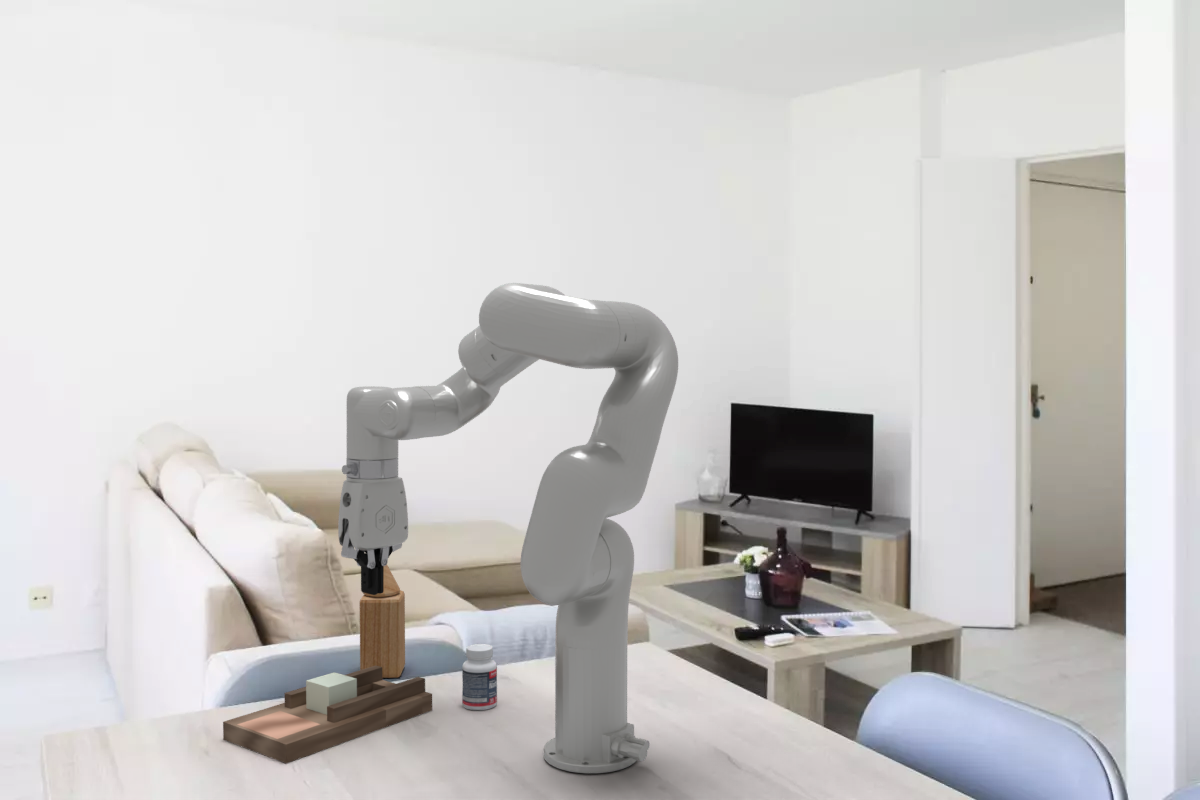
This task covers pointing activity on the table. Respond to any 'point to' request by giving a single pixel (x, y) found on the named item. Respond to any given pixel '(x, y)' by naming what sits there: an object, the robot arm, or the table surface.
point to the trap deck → (328, 717)
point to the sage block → (329, 691)
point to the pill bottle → (479, 678)
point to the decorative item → (383, 628)
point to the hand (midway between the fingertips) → (372, 592)
